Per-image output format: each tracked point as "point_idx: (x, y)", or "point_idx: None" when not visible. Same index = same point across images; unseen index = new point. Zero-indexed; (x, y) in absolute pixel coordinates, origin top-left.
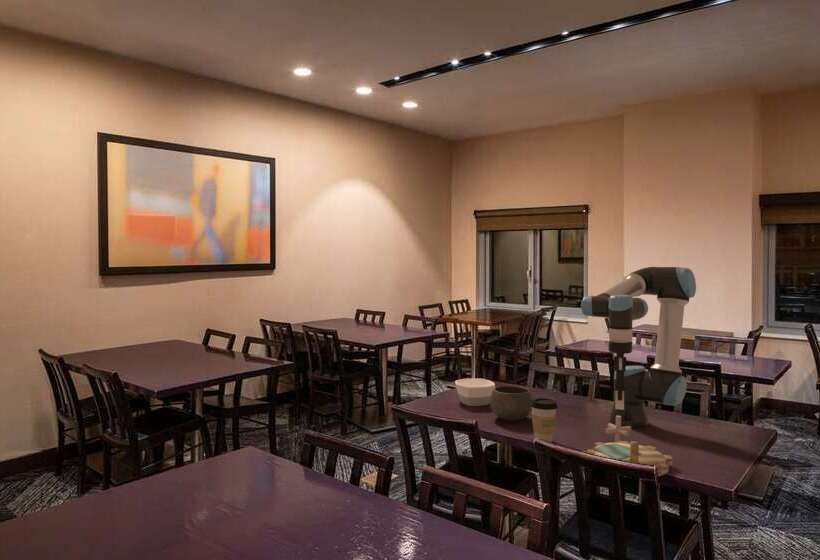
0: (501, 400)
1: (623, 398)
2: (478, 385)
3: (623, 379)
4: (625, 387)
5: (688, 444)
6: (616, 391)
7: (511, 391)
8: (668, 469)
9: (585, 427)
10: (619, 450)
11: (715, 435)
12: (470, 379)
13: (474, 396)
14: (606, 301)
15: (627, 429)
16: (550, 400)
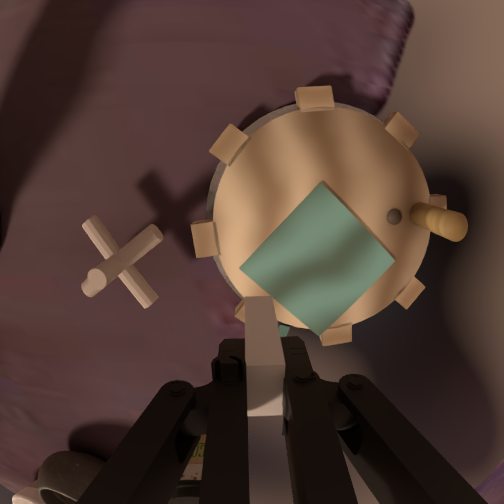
0: None
1: (277, 333)
2: (24, 500)
3: (429, 449)
4: (226, 365)
5: (76, 48)
6: (280, 404)
7: (49, 495)
8: (350, 106)
9: (49, 333)
10: (315, 255)
11: (6, 13)
12: None
13: None
14: None
15: (104, 229)
16: (178, 502)
